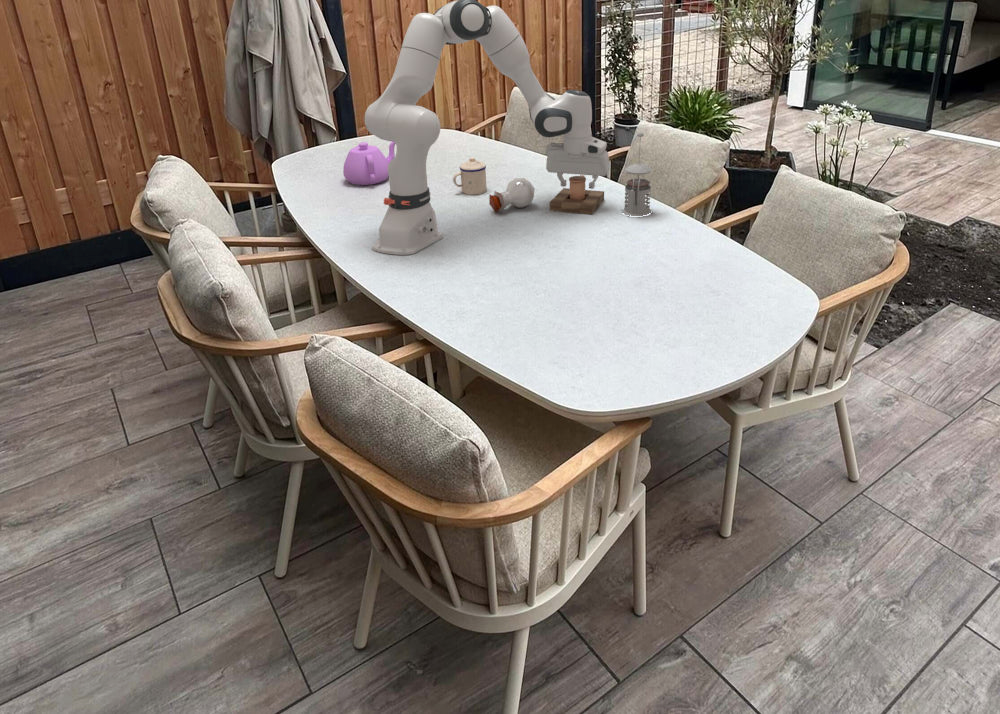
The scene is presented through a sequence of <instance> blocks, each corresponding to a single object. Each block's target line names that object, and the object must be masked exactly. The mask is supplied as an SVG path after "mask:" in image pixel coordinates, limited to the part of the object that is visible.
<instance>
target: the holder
mask: <svg viewBox="0 0 1000 714" xmlns="http://www.w3.org/2000/svg"><path fill="white" fill-rule="evenodd" d="M604 201H605V191H602V190H593V189H585V200H573V199H570V188H565V187H564V188H562V189H561V190H560V191H559V192H558V193H557V194H556V195H555V196H554V197H553V198H552V199H551V200H550V201H549V211H550V212H560V213H570V214H579V215H589V216H590V215H592V216H593V214H594V213H595V212H596V211H597V210H598V209H599V207H600V206H601V205H602V203H604ZM600 204H601V205H600Z"/></svg>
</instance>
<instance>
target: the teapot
mask: <svg viewBox="0 0 1000 714" xmlns="http://www.w3.org/2000/svg"><path fill="white" fill-rule="evenodd" d="M388 146H389V147H388V155H387V157H386V156H385V155H384V153H383V152H382V151H381V150H380V149H379V147H377V145H369V143H368V142H366V141H365V142H364V141H363V142H360V143H358V144H357V145H356V147H352V148H351V149H349V152H348V154H347V155H346V158H345V160H344V163H343V170H342V171H343V173H342V174H343V177H344V178H345V180H347V182H349V183H350V184H352V185H356V186H368V185H369V186H370V185H376V184H380V183H382V182H384V181H386V180H387V179H388V178H389V175H388V164H389V163H390V161H391V160H392V159H394V158H395V156H396V152H395V146H396V143H395V142H391V141H390V143H389V145H388Z"/></svg>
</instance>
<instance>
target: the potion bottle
mask: <svg viewBox="0 0 1000 714" xmlns="http://www.w3.org/2000/svg"><path fill="white" fill-rule="evenodd" d="M488 198H489V199H488V200H489V206H490V208H491V209H492V210H493V211H494V213H495V214H497V213H498V211H500V212H503V211H504V210H505V209H506V208H507V207H508V206H510V205H512V206H513V207H515V208H516V209H518V208H521V209H523V208H526V207H527V206H529V205H531V204H532V203H533V200H534V198H535V187H534V186H533V184H532V182H531V181H530V180H528V179H526V178H523V177H522V178H521V177H520V178H519V177H518V178H517V177H515V178H514V179H513V180H511V181H510V182H508V184H507V186H506V190H505V191H503V192H499V191H496V190H494V191H493V194H489V197H488Z"/></svg>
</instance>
